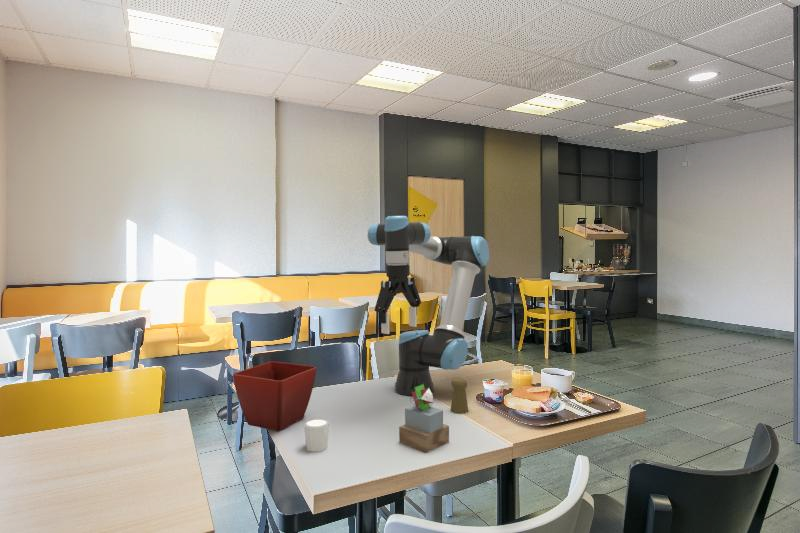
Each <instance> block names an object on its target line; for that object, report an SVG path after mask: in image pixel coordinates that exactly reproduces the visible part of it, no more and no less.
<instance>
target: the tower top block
mask: <svg viewBox="0 0 800 533" xmlns="http://www.w3.org/2000/svg"><path fill="white" fill-rule="evenodd" d="M430 407H431V408H427V409H425V410H423V411H421V408H420V406H418V407H416V405H415V404H414V405H413V404H412V406H407V407H406V408H404V425H405V426H407V427H410V428H413V429H416V430H419V431H422V432H425V433H429V434H431V433H433V432H435V431H437V430H439V429H441V428H443V424H444V410H443V409H440V408H436V407H433V406H430ZM418 408H419V409H420V410H419V409H418Z"/></svg>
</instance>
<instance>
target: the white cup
mask: <svg viewBox="0 0 800 533" xmlns="http://www.w3.org/2000/svg"><path fill="white" fill-rule="evenodd" d="M329 426H330V421H328V419H324V418H313V419H309V420H307V421H305V422H304V426H303V427H304V434H305V435H304V436H305V446H306V450H307V451H309V452H313V453H314V452H315V453H316V452H318V453H319V452H323V451H324V450H326V449H327V448H328V440H329Z"/></svg>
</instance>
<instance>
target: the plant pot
mask: <svg viewBox="0 0 800 533" xmlns="http://www.w3.org/2000/svg"><path fill="white" fill-rule="evenodd" d="M316 374H317V366H313V365H305V364H296V363H289V362H281V361H268V362H265V363H262V364H258V365H256V366H251V367H248V368H245V369H243V370H240V371H235V372H234V373H232V378H233V384H234V387H235V388H234V389H235V393H236V397H237V400H238V403H239V406H240V408H241V412H242V414H243V416H244V420H245V421H246V423H247V425H248V426H251V427H257V428H260V429H261V428H262V429H265V430H266V429H267V430H271V431H277V432H279V431H283V430H284V429H286V428H288V427H290V426H292V425H293V424H296V423H298V422H300V421H301V420H303V419H304V417H305V414H306V412H307V409H308V406H309V402H310V399H311V396H312V392H313V389H314V384H315V380H316Z"/></svg>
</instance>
